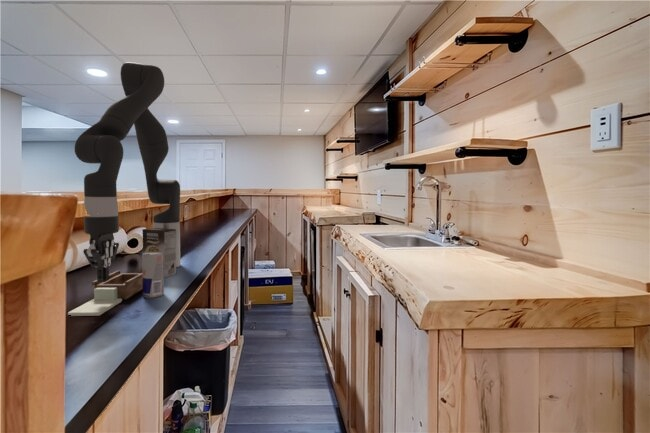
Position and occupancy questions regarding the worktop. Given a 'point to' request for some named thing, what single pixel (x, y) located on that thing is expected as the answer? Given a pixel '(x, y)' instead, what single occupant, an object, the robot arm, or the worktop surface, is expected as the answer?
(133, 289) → the walnut box
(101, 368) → the worktop surface
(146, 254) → the energy drink
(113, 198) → the robot arm
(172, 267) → the coffee box
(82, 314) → the lid
